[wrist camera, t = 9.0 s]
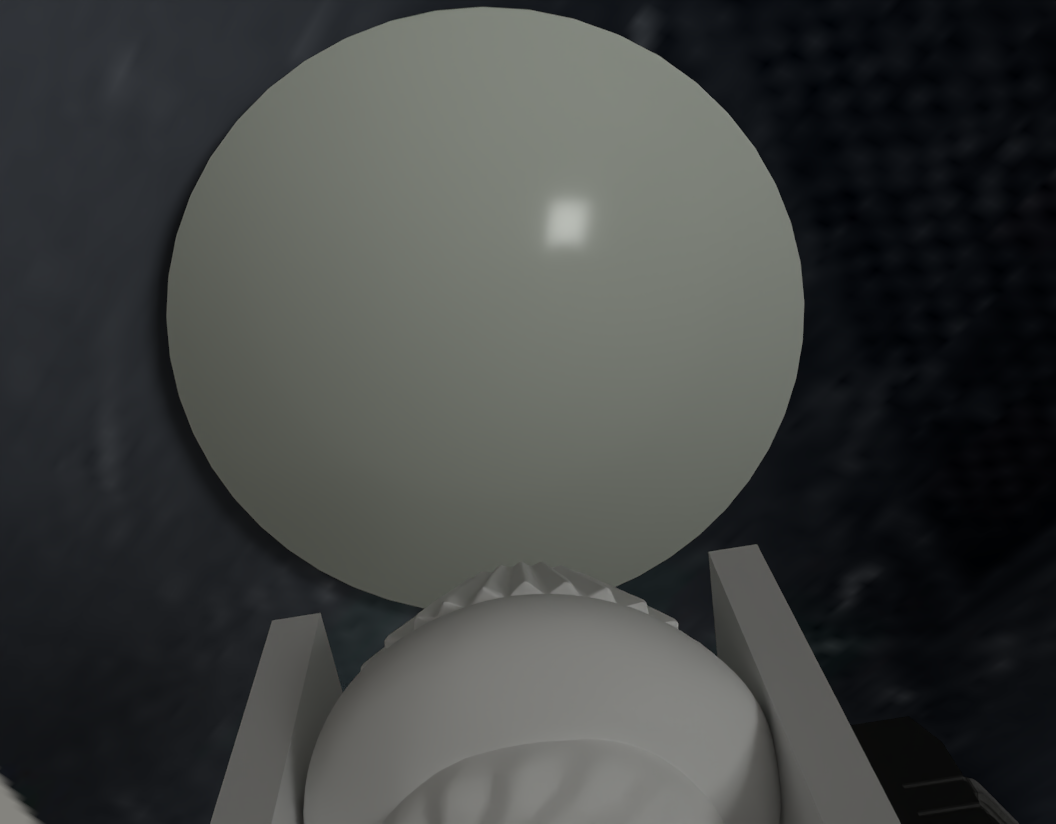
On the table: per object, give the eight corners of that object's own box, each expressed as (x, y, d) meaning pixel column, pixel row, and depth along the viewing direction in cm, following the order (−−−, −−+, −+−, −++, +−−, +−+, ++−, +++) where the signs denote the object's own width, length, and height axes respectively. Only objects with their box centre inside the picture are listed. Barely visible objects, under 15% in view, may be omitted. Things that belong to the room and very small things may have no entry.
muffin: (462, 842, 18) (463, 1336, 11) (255, 596, 15) (106, 1035, 9) (777, 689, 17) (975, 1130, 10) (605, 403, 14) (720, 738, 8)
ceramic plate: (94, 62, 26) (77, 66, 25) (780, -43, 26) (794, -44, 25) (264, 629, 33) (257, 651, 32) (800, 548, 33) (811, 568, 32)
